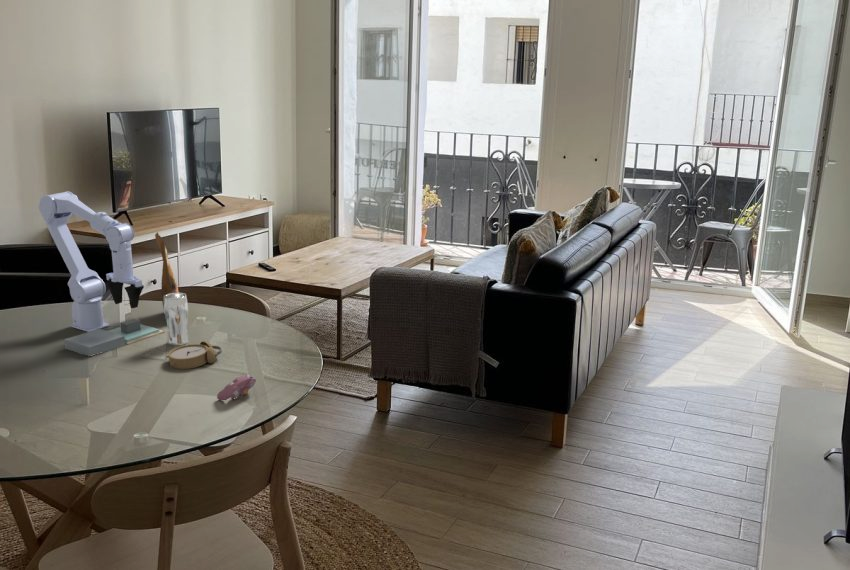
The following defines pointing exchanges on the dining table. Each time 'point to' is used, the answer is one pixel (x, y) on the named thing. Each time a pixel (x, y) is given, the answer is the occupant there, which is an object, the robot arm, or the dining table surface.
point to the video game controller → (237, 387)
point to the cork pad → (145, 337)
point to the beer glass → (176, 318)
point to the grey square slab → (94, 342)
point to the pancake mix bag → (166, 271)
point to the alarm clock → (193, 355)
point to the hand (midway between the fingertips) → (126, 305)
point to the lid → (133, 330)
